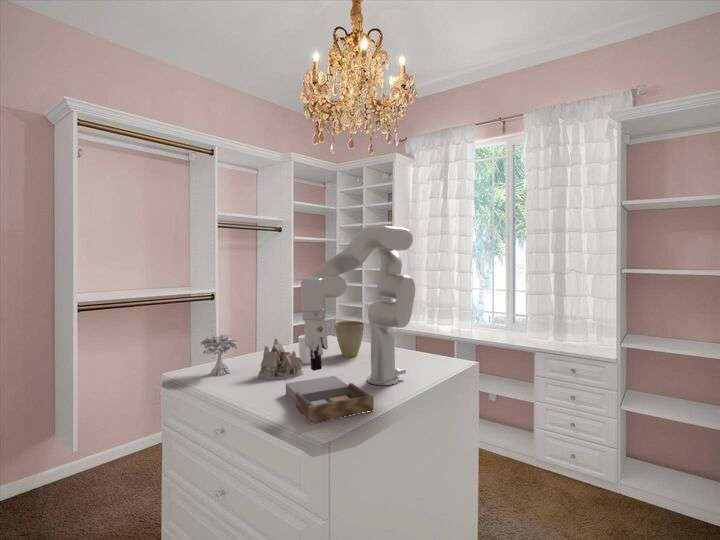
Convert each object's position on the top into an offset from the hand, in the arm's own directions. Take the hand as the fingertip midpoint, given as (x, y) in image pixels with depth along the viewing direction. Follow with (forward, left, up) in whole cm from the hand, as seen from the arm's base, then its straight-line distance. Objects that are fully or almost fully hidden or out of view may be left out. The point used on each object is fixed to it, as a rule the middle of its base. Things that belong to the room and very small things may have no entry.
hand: (316, 369), depth 136 cm
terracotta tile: (-7, +5, -10) cm, 13 cm away
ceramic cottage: (+2, -39, -12) cm, 41 cm away
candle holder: (-16, -54, -12) cm, 57 cm away
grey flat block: (-3, -8, -12) cm, 14 cm away
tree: (+24, -54, -12) cm, 60 cm away
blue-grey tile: (+1, +5, -10) cm, 11 cm away
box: (-3, +7, -12) cm, 14 cm away
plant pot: (-38, -56, -12) cm, 69 cm away
